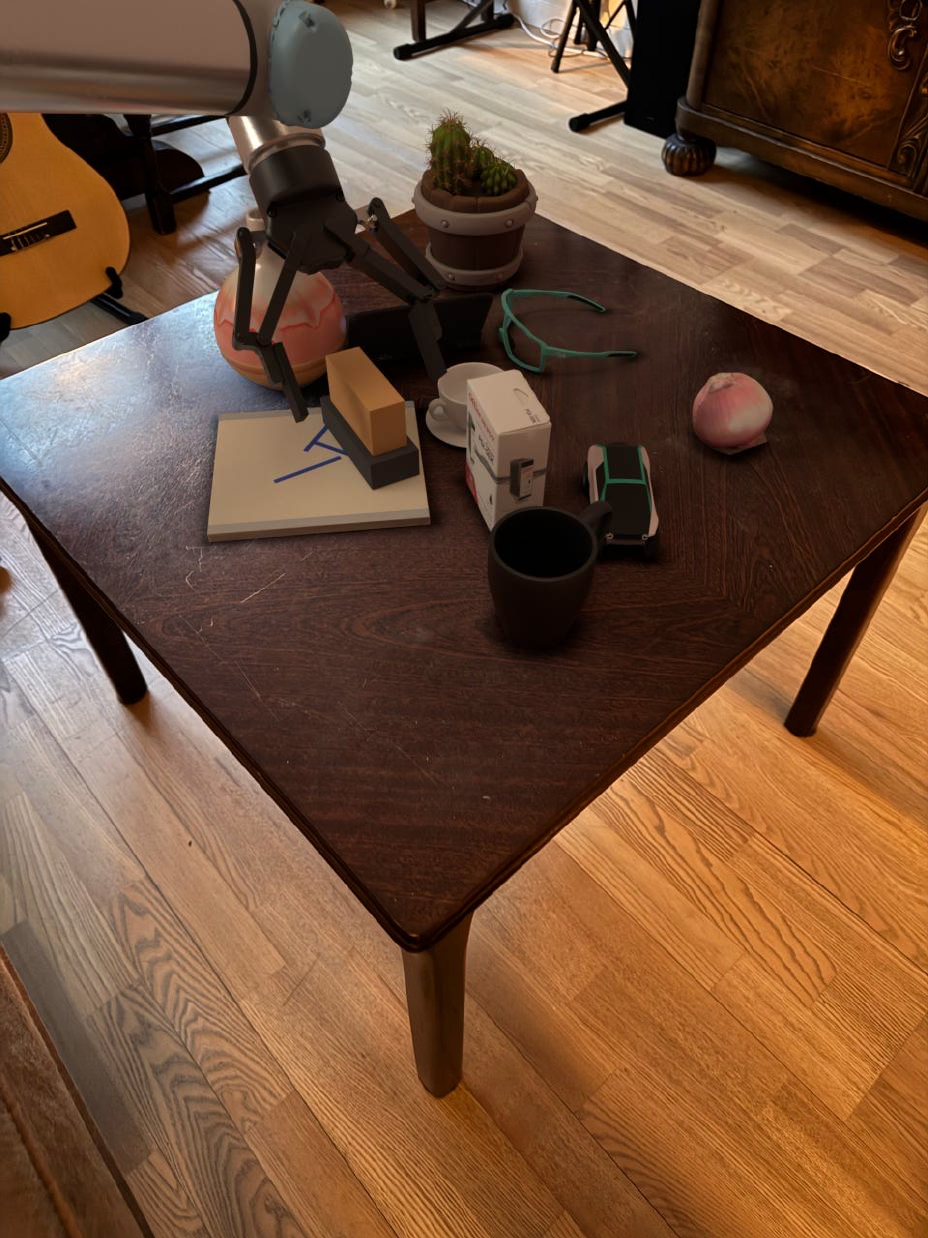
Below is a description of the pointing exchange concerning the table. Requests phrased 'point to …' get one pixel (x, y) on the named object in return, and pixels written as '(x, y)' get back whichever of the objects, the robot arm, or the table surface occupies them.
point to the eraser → (368, 419)
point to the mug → (544, 569)
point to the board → (301, 481)
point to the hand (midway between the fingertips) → (373, 397)
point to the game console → (394, 336)
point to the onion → (732, 413)
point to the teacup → (454, 402)
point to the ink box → (505, 444)
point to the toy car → (624, 494)
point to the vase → (283, 318)
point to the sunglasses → (545, 349)
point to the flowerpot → (472, 209)
